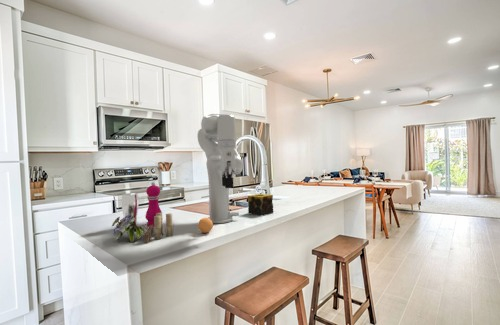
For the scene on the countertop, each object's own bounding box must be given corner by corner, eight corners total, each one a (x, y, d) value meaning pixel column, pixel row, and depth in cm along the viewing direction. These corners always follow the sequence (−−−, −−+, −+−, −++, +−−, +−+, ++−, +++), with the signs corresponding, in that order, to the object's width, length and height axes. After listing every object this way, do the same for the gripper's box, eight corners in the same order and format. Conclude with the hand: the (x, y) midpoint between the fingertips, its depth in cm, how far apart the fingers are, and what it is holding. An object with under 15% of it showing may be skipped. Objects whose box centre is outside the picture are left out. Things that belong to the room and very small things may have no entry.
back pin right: (163, 233, 106) (162, 212, 106) (162, 234, 104) (162, 213, 104) (156, 233, 106) (156, 212, 106) (156, 235, 103) (155, 214, 103)
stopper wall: (153, 232, 108) (153, 224, 108) (148, 242, 94) (148, 234, 94) (149, 232, 108) (149, 225, 108) (144, 243, 94) (143, 234, 94)
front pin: (172, 234, 104) (172, 213, 104) (172, 236, 102) (172, 214, 102) (166, 235, 104) (166, 213, 104) (166, 236, 101) (165, 214, 101)
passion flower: (118, 255, 98) (106, 227, 101) (146, 242, 105) (134, 217, 109) (123, 244, 90) (110, 214, 94) (153, 231, 98) (140, 204, 101)
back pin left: (161, 237, 100) (161, 215, 100) (161, 239, 98) (160, 216, 98) (155, 238, 100) (154, 215, 100) (154, 239, 97) (153, 217, 97)
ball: (212, 230, 110) (211, 215, 110) (213, 233, 104) (213, 218, 104) (197, 231, 108) (197, 216, 108) (198, 235, 102) (198, 220, 102)
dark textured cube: (273, 213, 143) (273, 194, 143) (261, 216, 136) (261, 196, 136) (259, 210, 150) (259, 193, 150) (247, 213, 143) (247, 195, 143)
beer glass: (135, 224, 122) (134, 192, 122) (141, 227, 118) (140, 193, 117) (119, 227, 118) (118, 194, 118) (125, 230, 113) (124, 195, 113)
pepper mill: (165, 223, 123) (164, 181, 123) (158, 227, 116) (157, 182, 116) (150, 223, 124) (149, 181, 124) (142, 227, 117) (141, 182, 117)
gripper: (239, 143, 100) (240, 188, 100) (232, 146, 117) (233, 184, 117) (220, 143, 99) (221, 189, 99) (215, 146, 116) (216, 185, 116)
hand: (227, 186), depth 108 cm, fingers open, 8 cm apart
